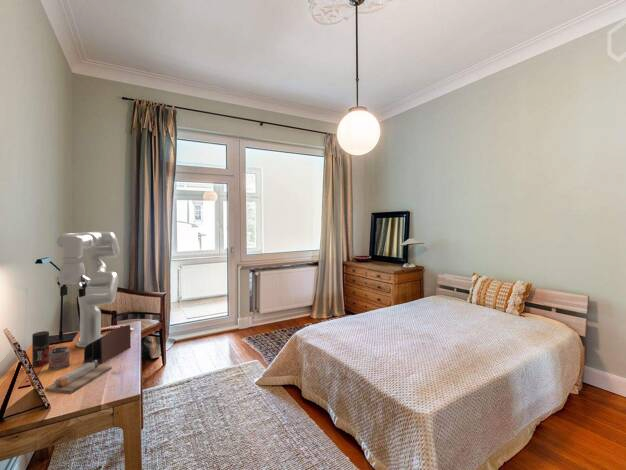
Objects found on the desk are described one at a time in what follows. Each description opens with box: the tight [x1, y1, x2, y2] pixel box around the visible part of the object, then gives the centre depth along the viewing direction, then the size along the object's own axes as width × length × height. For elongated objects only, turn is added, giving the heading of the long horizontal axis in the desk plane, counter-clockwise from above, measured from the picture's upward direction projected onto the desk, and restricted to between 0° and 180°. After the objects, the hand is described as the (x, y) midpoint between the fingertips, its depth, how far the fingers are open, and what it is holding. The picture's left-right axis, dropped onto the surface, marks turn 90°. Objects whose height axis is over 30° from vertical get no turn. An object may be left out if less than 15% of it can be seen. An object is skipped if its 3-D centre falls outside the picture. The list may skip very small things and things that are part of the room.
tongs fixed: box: [55, 360, 98, 387], centre depth 133 cm, size 18×2×3 cm, turn 174°
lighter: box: [47, 345, 71, 371], centre depth 142 cm, size 8×3×10 cm, turn 114°
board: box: [44, 364, 113, 394], centre depth 133 cm, size 21×12×1 cm, turn 174°
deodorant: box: [31, 330, 50, 368], centre depth 145 cm, size 6×6×15 cm
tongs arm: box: [60, 362, 95, 387], centre depth 132 cm, size 16×1×3 cm, turn 173°
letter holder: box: [83, 324, 132, 365], centre depth 157 cm, size 10×20×14 cm, turn 173°
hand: (72, 295), depth 145 cm, fingers open, 9 cm apart
